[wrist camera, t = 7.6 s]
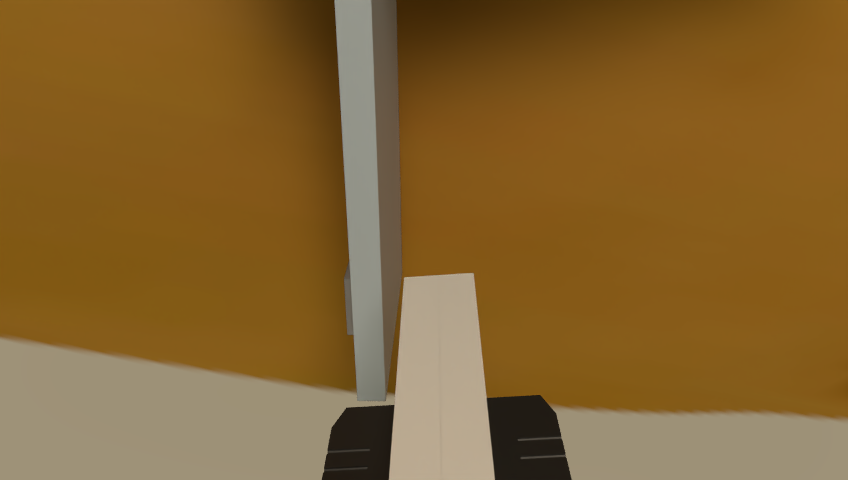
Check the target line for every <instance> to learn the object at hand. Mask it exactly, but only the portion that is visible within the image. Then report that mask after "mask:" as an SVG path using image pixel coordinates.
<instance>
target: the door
mask: <svg viewBox="0 0 848 480" xmlns="http://www.w3.org/2000/svg"><path fill="white" fill-rule="evenodd" d="M335 17H336V34H337V51H338V69H339V86H340V104H341V121H342V138H343V156H344V173H345V191H346V208H347V226H348V243H349V263H348V267H347V270H346V274H345V278H344V285H345V301H346V318H347V334H348V335H354V347H355V365H356V382H357V400H358V401H386V395H387V387H388V379H389V371H390V363H391V356H392V348H393V340H394V332H395V324H396V317H397V309H398V301H399V293H400V285H401V278H402V244H401V197H400V149H399V102H398V55H397V7H396V0H335Z"/></svg>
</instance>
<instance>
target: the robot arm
mask: <svg viewBox="0 0 848 480" xmlns="http://www.w3.org/2000/svg"><path fill="white" fill-rule="evenodd" d="M565 456H566V455H565V450H564V445H563V441H562V439H561V433H560V428H559V424H558V420H557V415H556V413H555V412H554V411H553V409H552V408H551V407H550V406H549V405H548V404H547V402H546V401H545V400H544V399H543V398H542V397H541V396H540V395H532V396H514V397H497V398H486V389H485V379H484V370H483V360H482V351H481V341H480V331H479V322H478V312H477V302H476V293H475V283H474V273H466V274H450V275H435V276H419V277H404V287H403V300H402V313H401V327H400V340H399V353H398V366H397V379H396V393H395V405H388V406H369V407H351V408H346V409H345V411H344V412H343V413H342V415H341V416H340V417H339V419H338V420H337V421H336V423H335V424H334V425H333V427H332V430H331V434H330V439H329V445H328V454H327V456H326V461H325V466H324V473H323V477H322V480H571V475H570V471H569V467H568V462H567V458H566V457H565Z"/></svg>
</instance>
